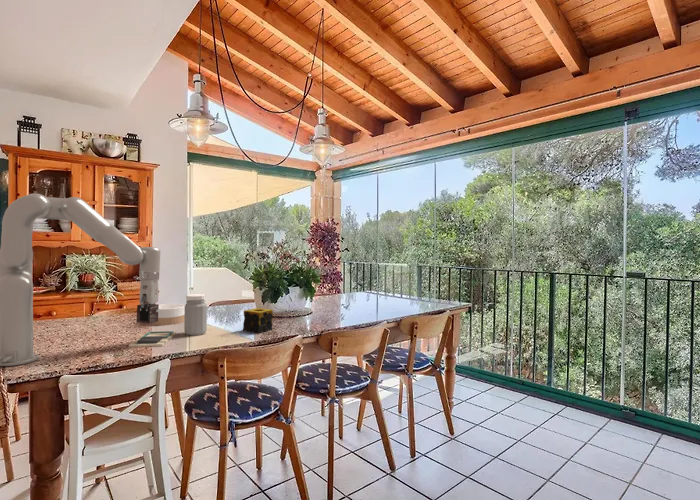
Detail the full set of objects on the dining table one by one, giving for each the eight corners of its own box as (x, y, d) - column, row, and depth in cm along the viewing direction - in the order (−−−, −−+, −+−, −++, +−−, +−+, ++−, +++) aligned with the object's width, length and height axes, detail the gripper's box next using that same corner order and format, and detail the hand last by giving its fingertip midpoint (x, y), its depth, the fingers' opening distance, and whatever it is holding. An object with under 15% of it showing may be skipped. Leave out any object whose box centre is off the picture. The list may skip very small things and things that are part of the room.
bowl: (192, 321, 221) (192, 305, 221) (162, 326, 206) (162, 310, 206) (171, 317, 230) (172, 302, 230) (142, 322, 215) (142, 306, 215)
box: (148, 324, 170) (149, 306, 170) (135, 322, 171) (136, 305, 171) (158, 321, 176) (159, 304, 175) (145, 320, 177) (146, 303, 177)
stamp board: (162, 346, 170) (162, 341, 170) (128, 347, 168) (128, 342, 168) (176, 333, 191) (176, 329, 191) (146, 334, 189) (146, 330, 189)
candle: (242, 331, 199) (242, 310, 199) (256, 327, 208) (256, 307, 208) (259, 333, 194) (259, 312, 194) (272, 329, 203) (273, 309, 203)
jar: (197, 330, 199) (197, 292, 199) (211, 332, 194) (211, 294, 194) (179, 334, 191) (179, 295, 190) (193, 336, 186) (193, 296, 185)
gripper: (152, 278, 165) (150, 322, 165) (164, 275, 182) (162, 315, 182) (132, 277, 164) (130, 322, 164) (146, 274, 181) (144, 315, 181)
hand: (147, 318), depth 173 cm, fingers closed on box, 7 cm apart
